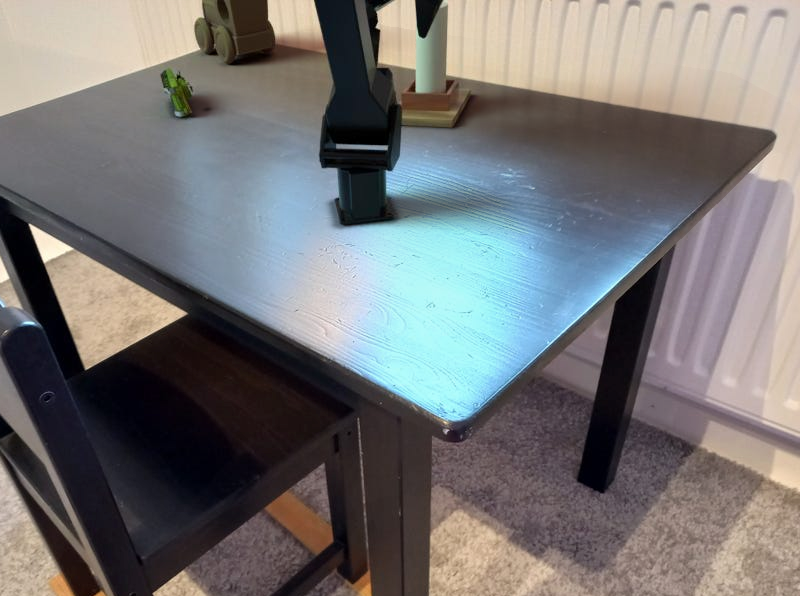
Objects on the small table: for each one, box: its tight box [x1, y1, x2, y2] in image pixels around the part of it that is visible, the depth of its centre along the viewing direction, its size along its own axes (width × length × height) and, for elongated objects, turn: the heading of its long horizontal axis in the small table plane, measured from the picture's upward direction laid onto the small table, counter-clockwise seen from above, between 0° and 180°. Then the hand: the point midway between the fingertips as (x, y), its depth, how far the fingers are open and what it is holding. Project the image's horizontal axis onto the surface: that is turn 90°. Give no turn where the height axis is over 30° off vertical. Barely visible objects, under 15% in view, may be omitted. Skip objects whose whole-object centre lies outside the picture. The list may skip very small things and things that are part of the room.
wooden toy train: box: [193, 0, 277, 65], centre depth 141 cm, size 20×11×17 cm, turn 31°
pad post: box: [415, 1, 449, 93], centre depth 106 cm, size 5×5×14 cm
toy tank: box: [159, 67, 194, 118], centre depth 123 cm, size 7×19×10 cm
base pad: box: [398, 77, 472, 129], centre depth 110 cm, size 14×10×4 cm
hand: (397, 53), depth 95 cm, fingers open, 9 cm apart
